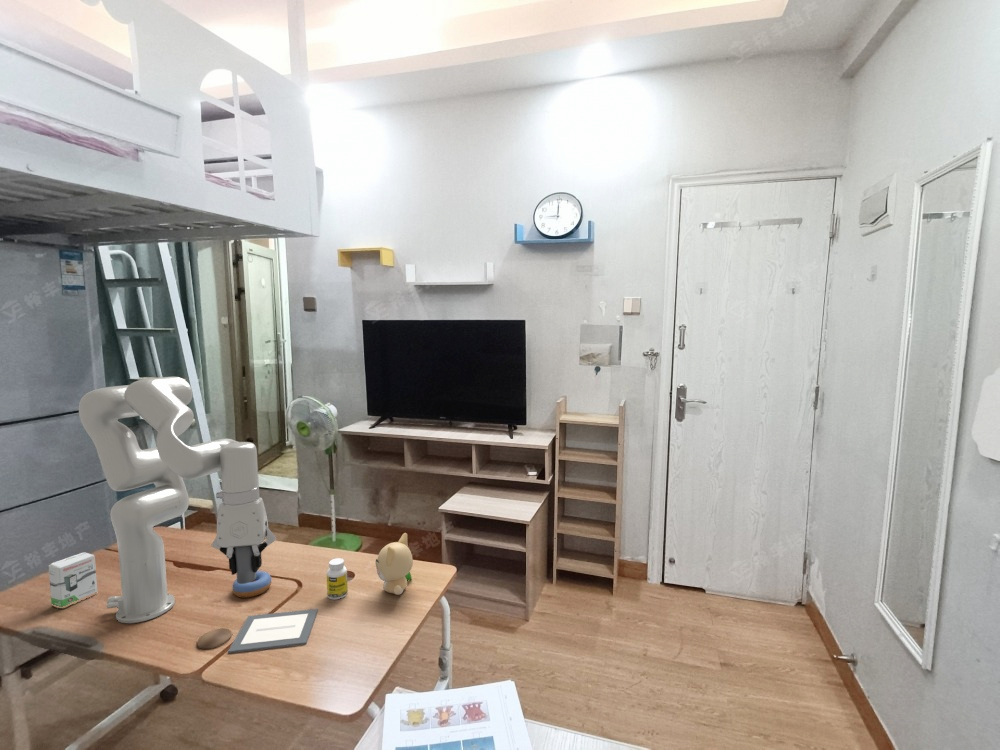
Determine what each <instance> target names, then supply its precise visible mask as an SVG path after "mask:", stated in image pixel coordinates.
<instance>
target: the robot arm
mask: <svg viewBox="0 0 1000 750" xmlns="http://www.w3.org/2000/svg"><path fill="white" fill-rule="evenodd" d="M193 395H194V394H193V389H192V386H191V385H190V383H189V382H188V381H187V380H185V379H184V378H182V377H179V376H161V377H151V378H142V379H139V380H136V381H133V382H131V383H130V384H127V385H115V386H106V387H102V388H101V387H100V388H97V389H94V390H91V391H89V392H86V393H85V394H84V395H82V397H81V399H80V400H79V404H78V415H79V420H80V422H81V425H82V427H83V428H84V430H85V432H86V433H87V435H88V436H89V437H90V439H91V440H92V442H93V444H94V446H95V449H96V451H97V456H98V459H99V461H100V465H101V469H102V471H103V474H104V477H105V481H106V482H107V485H108V487H109V488H110V489H111V490H113V491H115V492H125V491H131V490H134V489H138V488H141V487H142V488H143V487H145V486H148V485H152V484H153V485H154V486H155V487H154V488H150V489H146V490H143V491H142V490H141V491H139V492H136V493H133V494H131V495H130V494H129V495H128V496H125V497H123V498H121V499H119V500H118V501H117V502H115V503H114V504H113V505H112V506H111V509H110V512H109V513H110V521H111V524H112V528H113V530H114V534H115V538H116V543H117V544H116V545H117V552H118V562H119V572H120V583H121V585H120V586H121V595H119V596H118V595H114V596H109V597H108V598H107V600H106V609H115V608H117V611H116V612H115V619H116V621H117V620H118V621H117V622H119V623H122V624H136V623H141V622H145V621H146V622H147V621H149V620H152V619H155V618H157V617H159V616H161V615H164V614H165V613H167V612H168V611H169V610H171V608H172V607H173V606H174V605H175V602H176V601H175V600H176V599H175V598H176V597H175V595H173V594H171V593H168V584H167V570H166V555H165V545H164V544H165V543H164V540H163V538H162V536H161V535H160V534H159V533H157V532H156V531H155V530H154V526H158V525H160V524H162V523H165V522H168V521H169V520H173V519H175V518H177V517H180V516H182V515H183V514H184V513H186V512H187V510H188V508H189V506H190V499H189V498H190V497H189V493H188V490H187V488H186V484H185V481H184V479H185V480H196V479H198V478H202V477H205V476H208V475H209V476H210V475H212V474H215V473H219V472H220V474H221V489H222V490H221V491H220V492H216V494H215V497H216V499H221V503H220V504H219V505H218V508H217V517H216V518H217V520H216V536H215V538H214V540H213V541H212V543H211V546H210V547H212V548H214V549H216V550H218V551H220V552H221V553H222V554H223V555H224V556H225V557H226V559H228V567H229V570H230V572H231V575H232V576H234V575H237V573H236V558H235V547H241V546H252V549H253V552H254V553H253V556H252V570H253V573H256V572H257V571H259V569H260V568H261V567H262V565H263V563H262V561H263V560H262V552H263V551H265V549H266V548H267V547H268V546H270V545H271V544H273V543H275V541H276V540H277V537H276V535H275V534H274V533H273V532H272V530H271V529H270V528H269V523H268V516H267V510H266V507H265V503H264V500H263V498H262V497H260V486H259V485H260V484H259V466H258V465H259V464H258V451H257V450H258V449H257V446H256V445H255V444H254V443H253V442H250V441H237V440H234V439H232V438H219V439H216V440H211V441H210V440H209V441H205V442H201V443H197V444H193V445H187V444H185V442H183V441H182V440H181V439H180V438H179V436H181V435H182V434H183V433H185V431H187V430H188V429H189V428H190V427H191V425H192V423H193V421H194V415H195V414H194V411H193V409H191V408H190V407H189V406H187V405H189V404H191V402H192V399H193ZM133 417H140V418H142V419H143V420H144V421H145V422H146V423H147V424H149V426H150V427H152V428H153V429H154V430H155V431H157V434H156V439H155V440H156V442H155V444H156V446H154V447H150V448H145V449H141V447H140V445H139V441H138V439H137V437H136V435H135V433H134V431H132V429H130V428H129V427H128V426H127V425H125V424H124V423H122V422H120V421H118V420H120V419H126V418H133Z"/></svg>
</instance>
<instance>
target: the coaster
mask: <svg viewBox="0 0 1000 750" xmlns="http://www.w3.org/2000/svg"><path fill="white" fill-rule="evenodd" d="M232 634H233V633H232V631H231V629H229V628H225V627H224V628H220V627H219V628H215V629H212V630H209V631H207V632H205V633H203V634H202V635H201V636H200V637H199V638H198V640H197V647H198V648H199V649H202V650H211V649H216V648H218V647H220V646H223V645H224V644H226V643H228V642H229V641H230V639H231V638H232Z"/></svg>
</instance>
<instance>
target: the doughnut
mask: <svg viewBox="0 0 1000 750" xmlns="http://www.w3.org/2000/svg"><path fill="white" fill-rule="evenodd" d="M271 584H272V576H271V574H270V573H269V572H266V571H262V570H257V572H256V579H255V580H253V581H252V582H249V583H245V584H239V583H237V578H236V579H234V582H233V583H232V593H233V594H234V595H235V596H236V597H238V598H247V599H248V598H252V597H257V596H259V595H262V594H263V593H265V592H266V591H267V590H268V589H269V588H270V587H271Z"/></svg>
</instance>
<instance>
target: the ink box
mask: <svg viewBox="0 0 1000 750" xmlns="http://www.w3.org/2000/svg"><path fill="white" fill-rule="evenodd" d="M95 557H96V556H95V555H94V554H91V553H89V552H86V551H85V552H80V553H78V554H74V555H71V556H68V557H66V558H63V559H61V560H57V561H54V562H52V563H50V564H49V565H48V577H49V589H50V590H49V591H50V603H51V604H53V605H56V606H59V607H63V606H66V605H68V604H70V603H72V602H74V601H77V600H79V599H81V598H84V597H86V596H89V595H91V594H94V593H95V592H97V593H98V584H97V583H98V581H97V570H96V567H97V566H96V558H95Z"/></svg>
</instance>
